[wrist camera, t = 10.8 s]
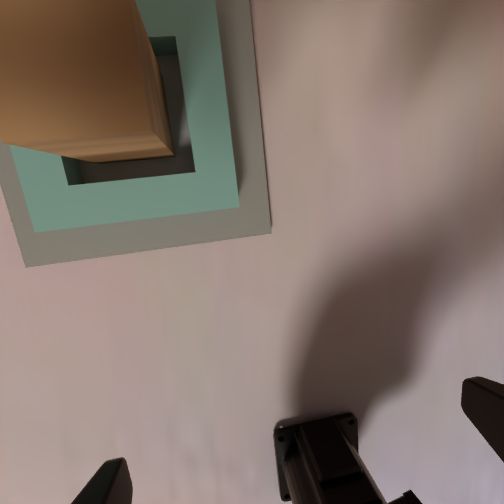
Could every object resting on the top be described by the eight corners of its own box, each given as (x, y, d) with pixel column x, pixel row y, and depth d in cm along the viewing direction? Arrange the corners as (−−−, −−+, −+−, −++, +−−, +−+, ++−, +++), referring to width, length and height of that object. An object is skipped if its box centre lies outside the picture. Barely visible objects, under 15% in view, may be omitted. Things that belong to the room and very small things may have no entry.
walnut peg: (175, 156, 16) (151, 130, 9) (99, 163, 16) (1, 142, 8) (162, 76, 15) (122, -34, 8) (81, 81, 15) (-50, -32, 7)
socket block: (269, 232, 19) (279, 239, 16) (30, 265, 17) (1, 278, 14) (244, -32, 15) (252, -72, 13) (-57, -28, 13) (-114, -74, 11)
